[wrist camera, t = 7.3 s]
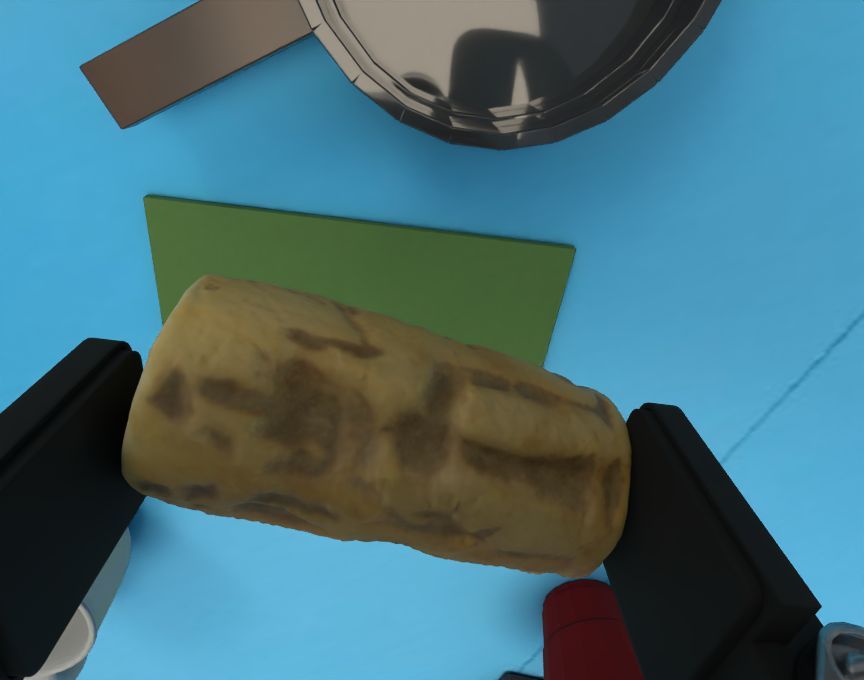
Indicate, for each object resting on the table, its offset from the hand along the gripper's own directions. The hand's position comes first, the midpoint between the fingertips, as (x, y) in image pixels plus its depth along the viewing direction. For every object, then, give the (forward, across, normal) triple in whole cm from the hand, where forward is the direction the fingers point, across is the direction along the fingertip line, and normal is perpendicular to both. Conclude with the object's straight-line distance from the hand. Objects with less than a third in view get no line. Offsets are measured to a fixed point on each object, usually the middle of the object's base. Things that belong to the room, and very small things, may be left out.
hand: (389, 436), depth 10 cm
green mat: (+16, +2, +8) cm, 18 cm away
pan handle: (+14, +8, -5) cm, 16 cm away
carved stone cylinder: (+2, 0, 0) cm, 2 cm away
